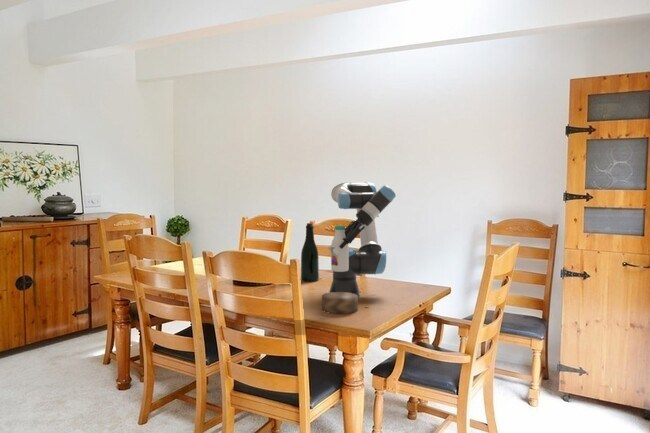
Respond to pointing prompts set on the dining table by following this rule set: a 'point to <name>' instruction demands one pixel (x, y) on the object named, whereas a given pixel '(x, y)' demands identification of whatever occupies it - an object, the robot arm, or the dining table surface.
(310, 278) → the dark green wine bottle
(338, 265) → the milk bottle
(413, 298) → the dining table surface
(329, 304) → the walnut stand
